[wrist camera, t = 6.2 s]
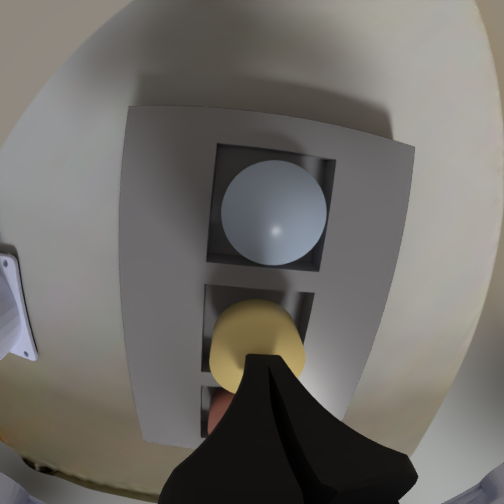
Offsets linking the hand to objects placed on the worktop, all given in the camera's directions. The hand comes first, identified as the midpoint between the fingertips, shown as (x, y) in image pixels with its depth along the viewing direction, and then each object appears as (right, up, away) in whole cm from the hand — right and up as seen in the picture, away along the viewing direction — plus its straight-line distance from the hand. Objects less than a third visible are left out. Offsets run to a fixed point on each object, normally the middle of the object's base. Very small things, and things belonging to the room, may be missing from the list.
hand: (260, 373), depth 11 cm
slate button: (0, +7, +2) cm, 7 cm away
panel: (0, +1, +5) cm, 5 cm away
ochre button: (0, +1, +3) cm, 3 cm away
